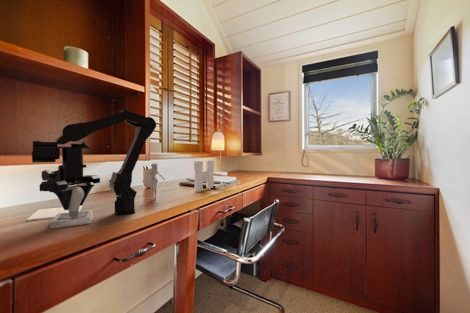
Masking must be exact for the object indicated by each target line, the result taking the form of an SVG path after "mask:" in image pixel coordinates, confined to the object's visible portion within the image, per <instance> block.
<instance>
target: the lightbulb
mask: <svg viewBox="0 0 470 313" xmlns="http://www.w3.org/2000/svg"><path fill="white" fill-rule="evenodd" d="M69 189H73V191H72V196H71V200H70V205H69V208H68V211H69V217H72V218H71V219H73V218H75V217H76V216H78V210H79V206H80V203H81V201H82V199H83V197H84V191H83V189H82V188H81V187H78V186H74V185H71V186H69Z"/></svg>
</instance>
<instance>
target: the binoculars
mask: <svg viewBox="0 0 470 313" xmlns="http://www.w3.org/2000/svg"><path fill="white" fill-rule="evenodd" d="M205 169H206V170H204V161H203V160H194V161H193V170H194V192H196V193H201V191H202V192H203V187H204V186H203V183H206V184H205V186H206V187H205V188H206V189H207V190H212V189H211V188H213V185H214V186H215V183H214V179H215V178H214V175H215V171H214V169H215V160H214V159H213V160H211V159H206V160H205ZM213 189H214V188H213Z"/></svg>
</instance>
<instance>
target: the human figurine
mask: <svg viewBox="0 0 470 313" xmlns="http://www.w3.org/2000/svg"><path fill="white" fill-rule="evenodd" d="M157 175H159V177H161V178H162V179H163V181H165V180H166V179H165V177H163V175H161V174H160V172H159V171H158V164H157V163H154V162H153V163H151V170H150V172H149V173H148V175H147V176H146V177H145V178H144V179H143V180H142V184H144V183H145V181H146V180H147V179H148V178H149V177H150V176H151V178H150V181H149V185H150V189H151V192H150V193H151V199H150V201H157V187H158V185H159V184H158V182H159V178H157V177H156V176H157Z"/></svg>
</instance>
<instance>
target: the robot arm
mask: <svg viewBox="0 0 470 313" xmlns="http://www.w3.org/2000/svg"><path fill="white" fill-rule="evenodd" d="M123 122H125V123H127V124H129V125H130V126H133V127H135V129H134V138H133V140H132V142H131V145H130V147H129V149H128V151H127V153H126V156H125V159H124V161H123V162H122V165H121V167H120V169H119V171H116V172H115V171H112V174H111V178H110V179H109V180H108V183H109V184H108V186H109V187H108V188H109V189H110V190H111V191H112V192H113V193H114V194H115V198H116V199H115V200H114V213H115V215H116V216H121V215H129V214H130V215H131V214H136V210H135V199H136V195H137V193H138V192H137V191H136V190H135V189H133V187H131V186H132V182H133V172H134V169H135V167H136V165H137V162H138V161H139V158H140V155H141V153H142V151H143V148H144V146H145V143H146V142H147V140H148V139H149V137H150V136H151V135H153V133H154V131H155V130H156V128H157V122H156V120H155V119H154V118H153V117H151V116H145V115H142V114H139V113H136V112H133V111H132V110H131V111H130V110H129V109H124V110H123V109H122V110H121V111H120V112H119V111H118V112H115V113H113V114H110V115H107V116H104V117H100V118H97V119H94V120H91V121H84V122H78V123H77V122H76V123H71V124H67V125H66V126H64V127H63V128H62V129H61V132H60V136H59V137H58V138H57V139H55V141H41V140H33V141H32V151H31V163H32V164H37V163H38V164H39V163H47V164H48V163H56V160H60V158H62V159H61V162H62V163H61V164H58V167H57V168H58V170H54V171H52V170H51V169H45V170H42V171H41V180H42V181H41V182H40V183H39V192H49V193H53V194H54V195H56V197H57V198H58V200H59V202H60V203H61V207H63V208H64V210H68V208H69V205H70V200H71V196H72V191H73V189H69V187H70V186H78V187H81V188H82V189H83V191H84V197H83V199H82V201H81V203H80V206H82V207H83V204H84V203H85V202H86V200H87V197H88V195H89V193H90V192H91V190H92V189H93V188H94V187H95V184H100V183H101V178H100V176H99V175H98V174H97V175H96V174H95V175H94V174H93V175H91V174H87V175H86V174H85V175H84V168H85V169H86V168H87V164H84V149H90V146H89V145H88V144H86V142H85V141H82V142H81V143H76V142H79V141H81V140H83V139H85V138H87V137H88V136H89V135H91V134H93V133H95V132H97V131H101V130H102V129H105V128H108V127H112V126H114V125H116V124H119V123H120V124H121V123H123ZM69 142H70V144H69V146H63V145H66V144H68V143H69ZM74 142H75V143H74ZM58 145H62V146H58ZM60 149H61V150H60Z"/></svg>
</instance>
